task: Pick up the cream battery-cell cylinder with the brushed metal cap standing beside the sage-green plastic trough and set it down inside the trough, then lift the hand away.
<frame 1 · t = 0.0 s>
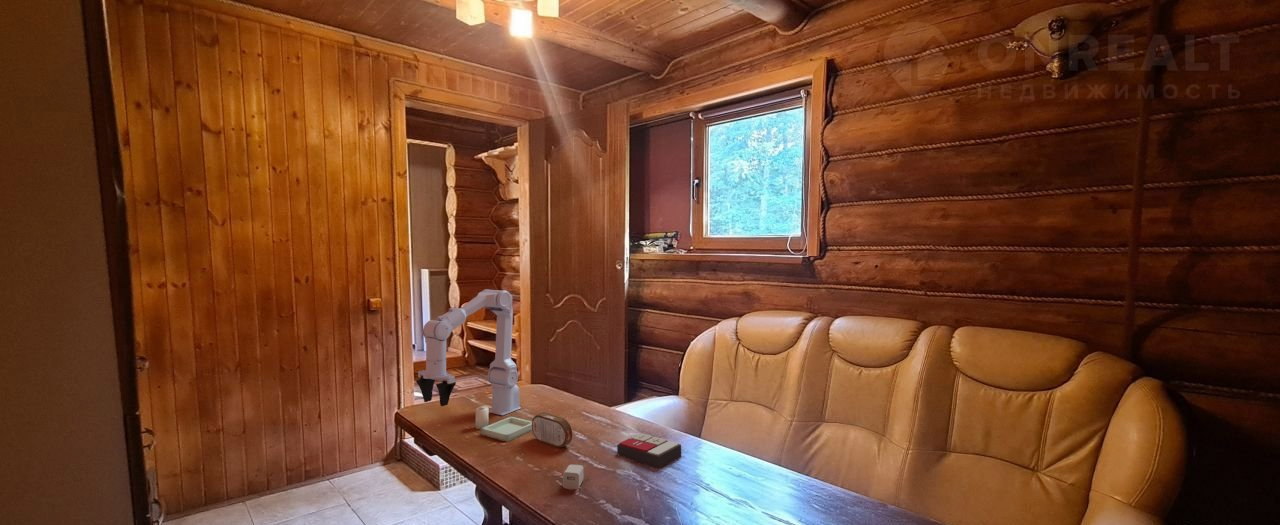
hand: (435, 403, 149), 10 cm above the table, tool pointing down, fingers open, 7 cm apart
usb wall charger: (574, 483, 120), on the table
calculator: (649, 457, 137), on the table
tin: (550, 444, 145), on the table
trough tray: (509, 431, 154), on the table
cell: (481, 426, 158), on the table
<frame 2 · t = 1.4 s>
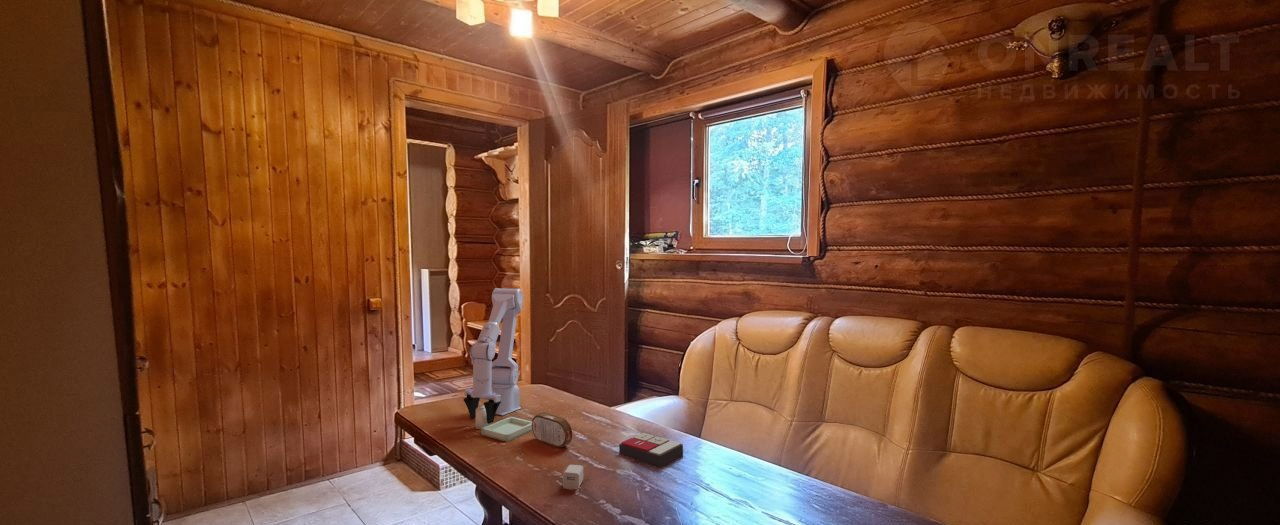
hand: (481, 420, 157), 2 cm above the table, tool pointing down, fingers open, 7 cm apart
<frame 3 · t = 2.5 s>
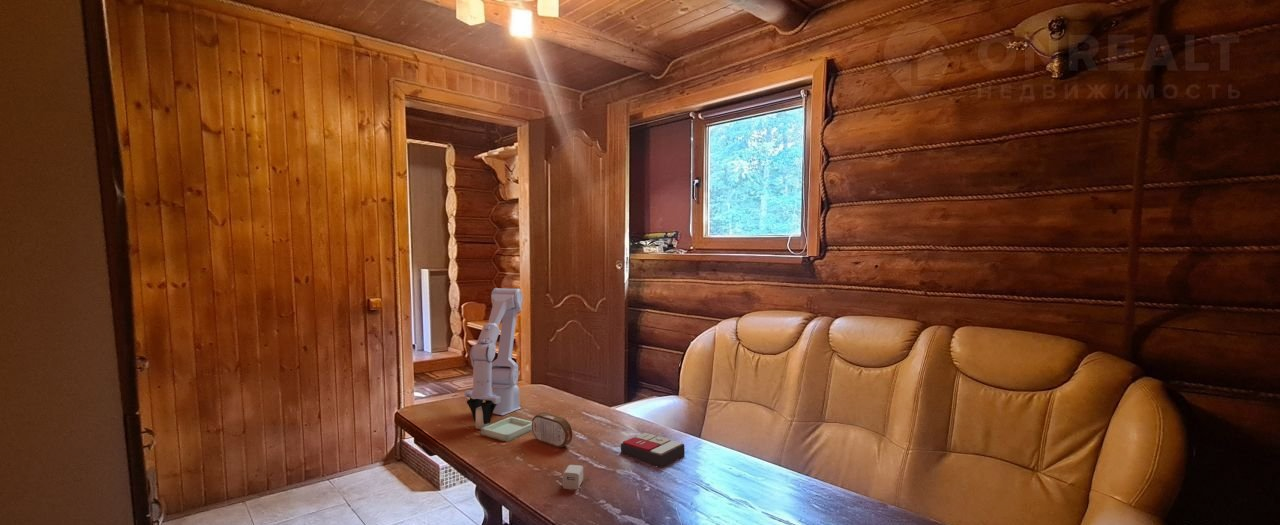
hand: (482, 421, 158), 2 cm above the table, tool pointing down, fingers closed on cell, 4 cm apart
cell: (482, 426, 158), on the table, touching gripper
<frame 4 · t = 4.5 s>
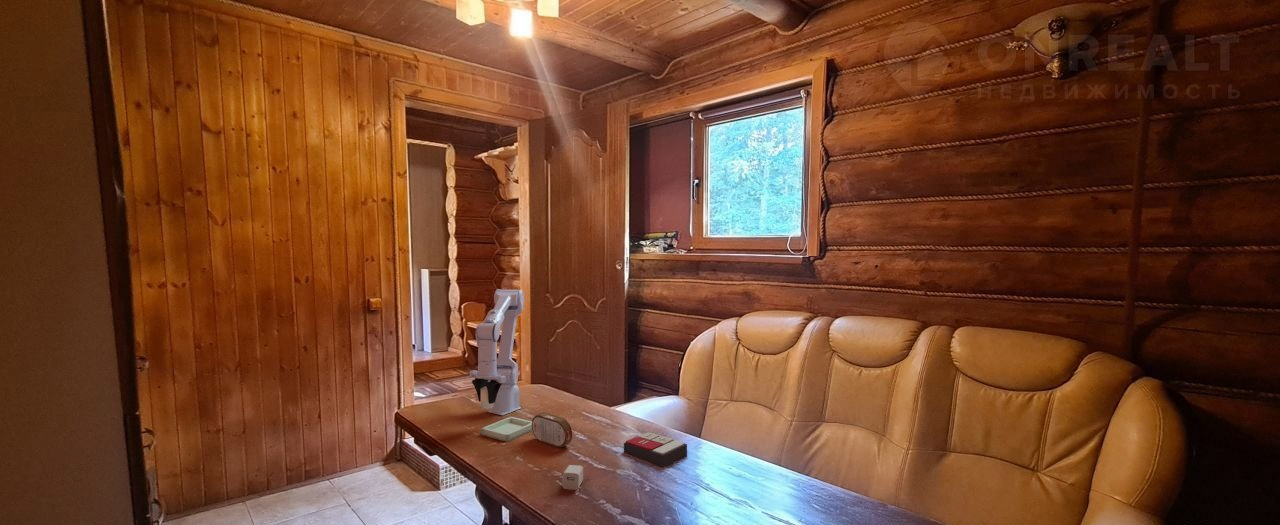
hand: (487, 401, 157), 8 cm above the table, tool pointing down, fingers closed on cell, 4 cm apart
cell: (486, 406, 157), point 7 cm above the table, touching gripper
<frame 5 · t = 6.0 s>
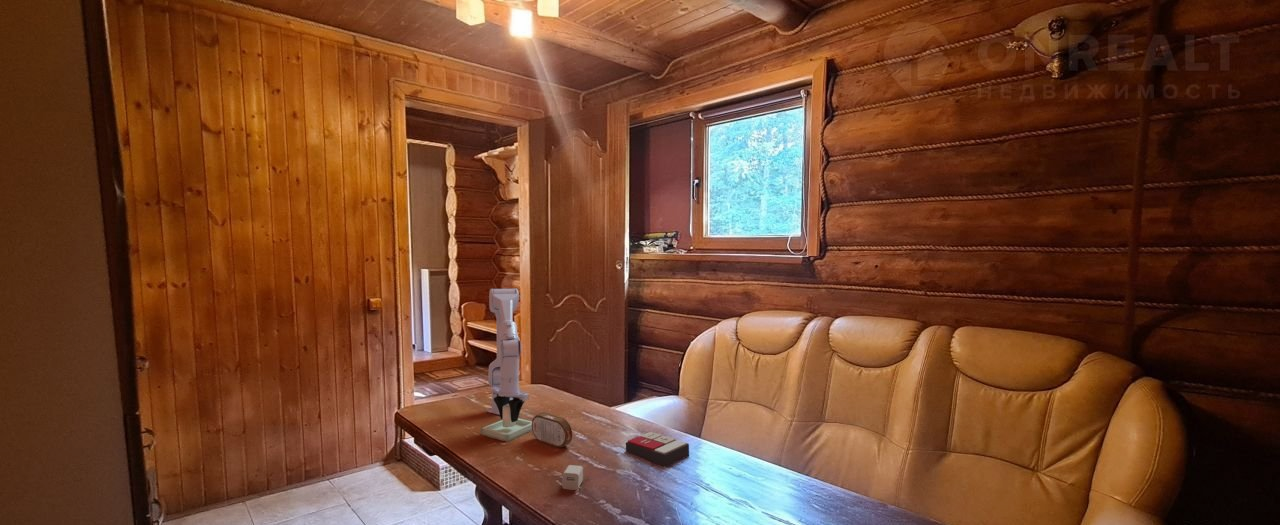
hand: (509, 419, 154), 4 cm above the table, tool pointing down, fingers closed on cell, 4 cm apart
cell: (509, 425, 154), point 2 cm above the table, touching gripper
when the fingers open (4 cm above the table, at t = 6.8 s): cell drops 1 cm, resting on trough tray.
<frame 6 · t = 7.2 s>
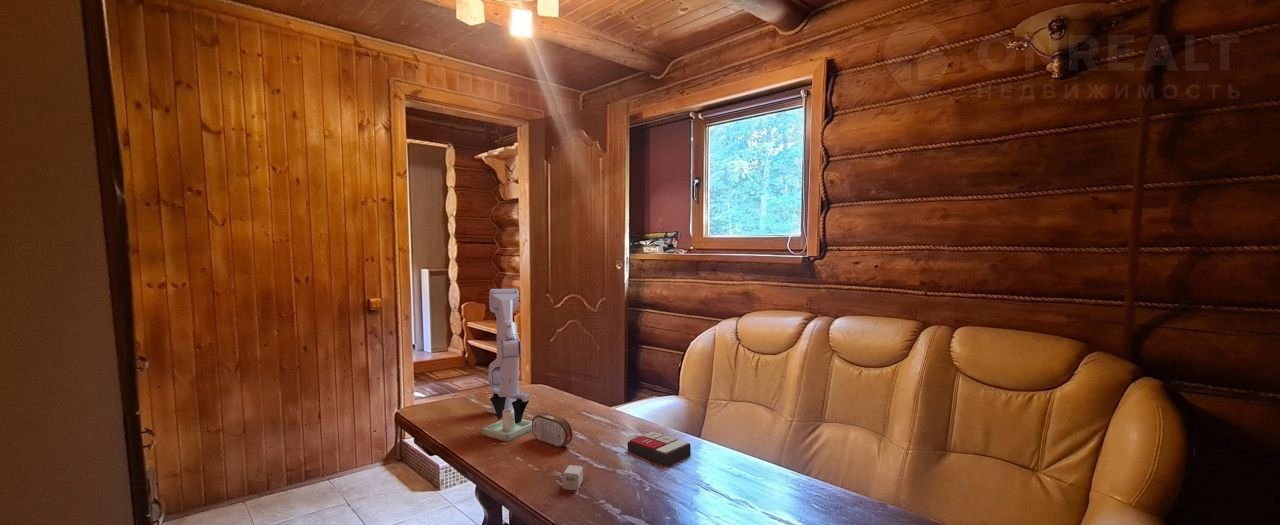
hand: (509, 420, 154), 4 cm above the table, tool pointing down, fingers open, 7 cm apart
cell: (508, 429, 154), point 1 cm above the table, touching trough tray
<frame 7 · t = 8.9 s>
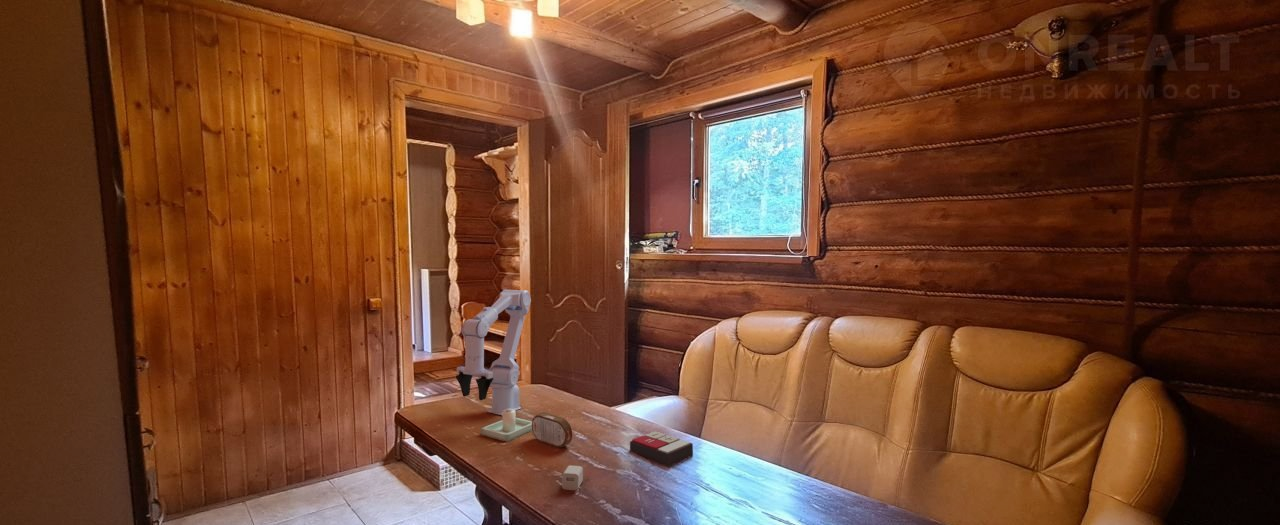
hand: (474, 397, 158), 9 cm above the table, tool pointing down, fingers open, 7 cm apart
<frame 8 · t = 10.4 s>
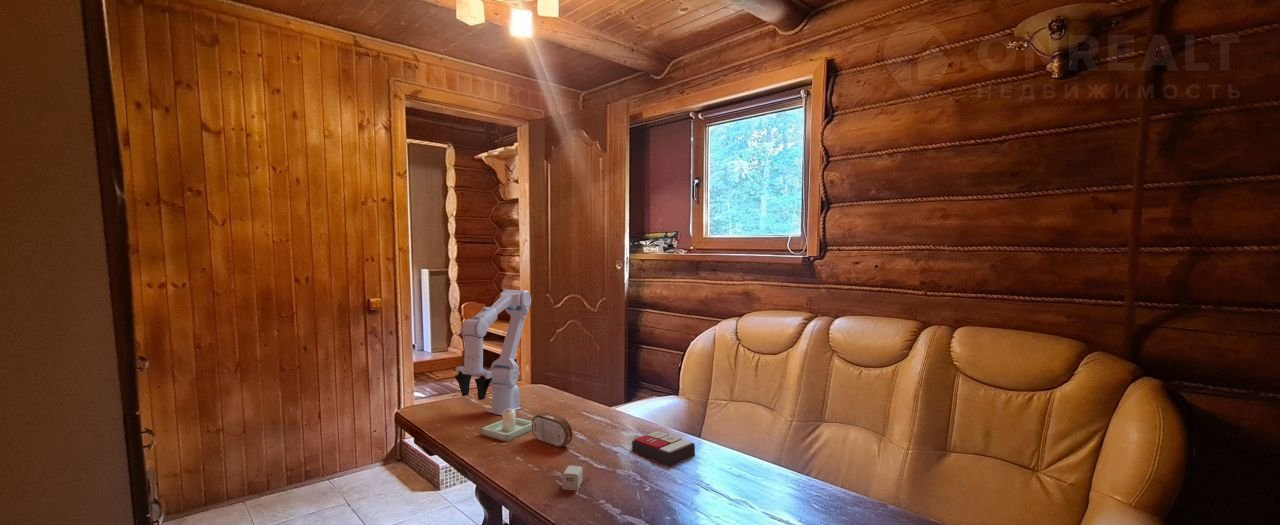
hand: (473, 397, 158), 9 cm above the table, tool pointing down, fingers open, 7 cm apart
at the end: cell inside the target area on the trough tray (0.1 cm from its centre), point 0.6 cm above the trough tray's base; the gripper is holding nothing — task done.
